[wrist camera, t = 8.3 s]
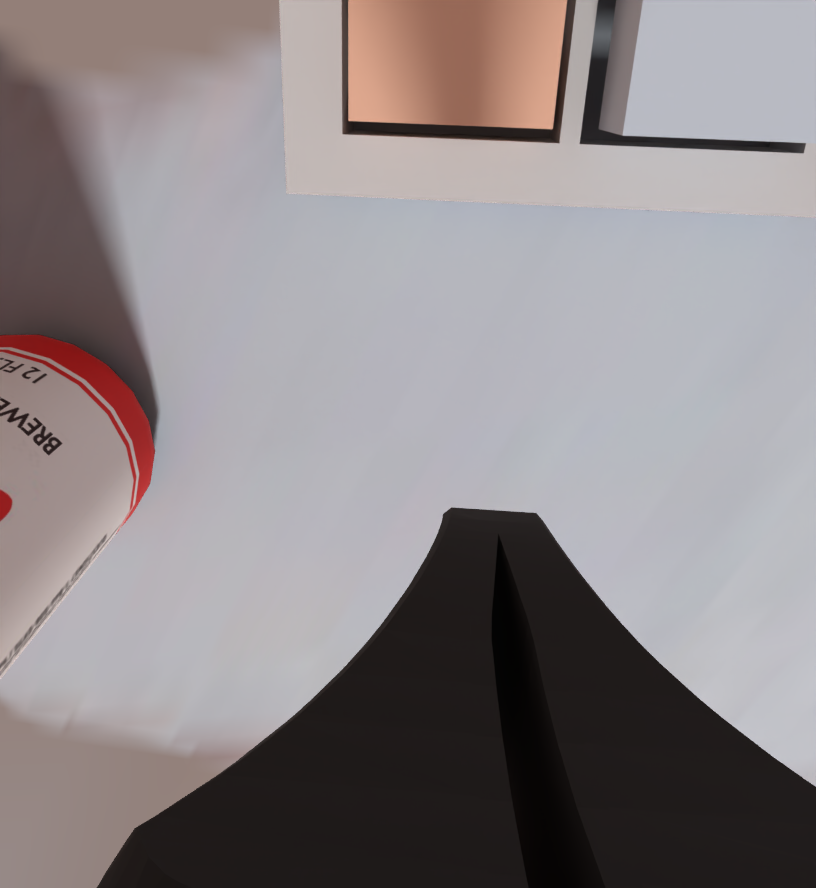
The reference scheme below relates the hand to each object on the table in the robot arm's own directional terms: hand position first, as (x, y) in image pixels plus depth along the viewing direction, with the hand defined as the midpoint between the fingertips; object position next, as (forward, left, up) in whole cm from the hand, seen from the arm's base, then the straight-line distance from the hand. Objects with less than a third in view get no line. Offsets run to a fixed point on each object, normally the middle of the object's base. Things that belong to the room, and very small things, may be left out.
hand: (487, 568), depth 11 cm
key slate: (-4, -8, -7) cm, 11 cm away
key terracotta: (+1, -8, -8) cm, 11 cm away
